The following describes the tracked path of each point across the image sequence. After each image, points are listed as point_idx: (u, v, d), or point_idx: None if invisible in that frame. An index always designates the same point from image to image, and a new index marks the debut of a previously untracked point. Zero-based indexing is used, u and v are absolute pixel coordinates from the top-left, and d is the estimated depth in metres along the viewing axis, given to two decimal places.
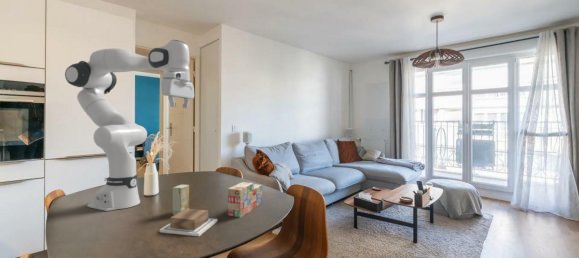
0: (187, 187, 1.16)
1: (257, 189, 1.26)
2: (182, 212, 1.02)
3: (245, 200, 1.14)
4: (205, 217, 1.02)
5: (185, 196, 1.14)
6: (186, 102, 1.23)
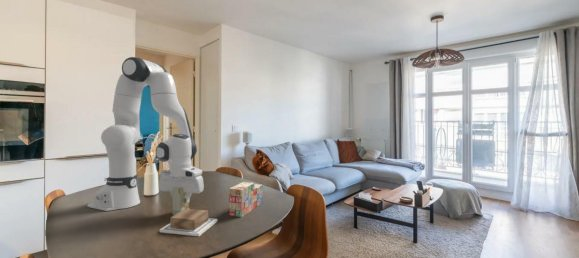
0: None
1: (258, 189, 1.26)
2: (182, 212, 1.02)
3: (246, 200, 1.15)
4: (205, 217, 1.02)
5: (185, 196, 1.14)
6: None
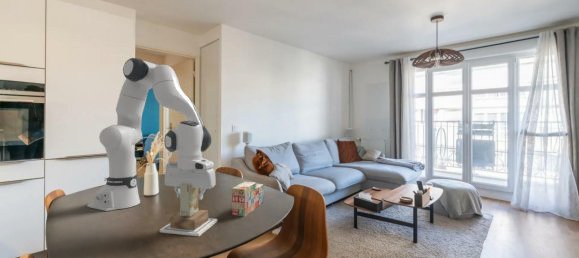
0: None
1: (259, 188, 1.27)
2: None
3: (248, 199, 1.15)
4: (205, 217, 1.02)
5: (194, 194, 1.00)
6: (178, 190, 1.02)
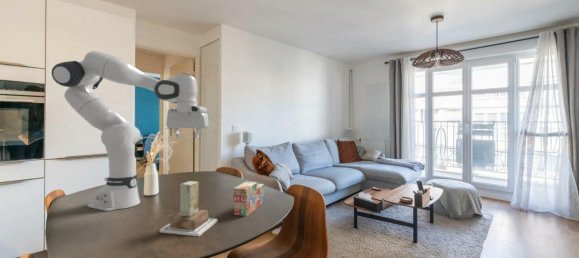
0: (196, 184, 1.02)
1: (260, 188, 1.27)
2: None
3: (250, 199, 1.16)
4: (205, 217, 1.02)
5: (194, 194, 1.00)
6: (177, 132, 1.23)
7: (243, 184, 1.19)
